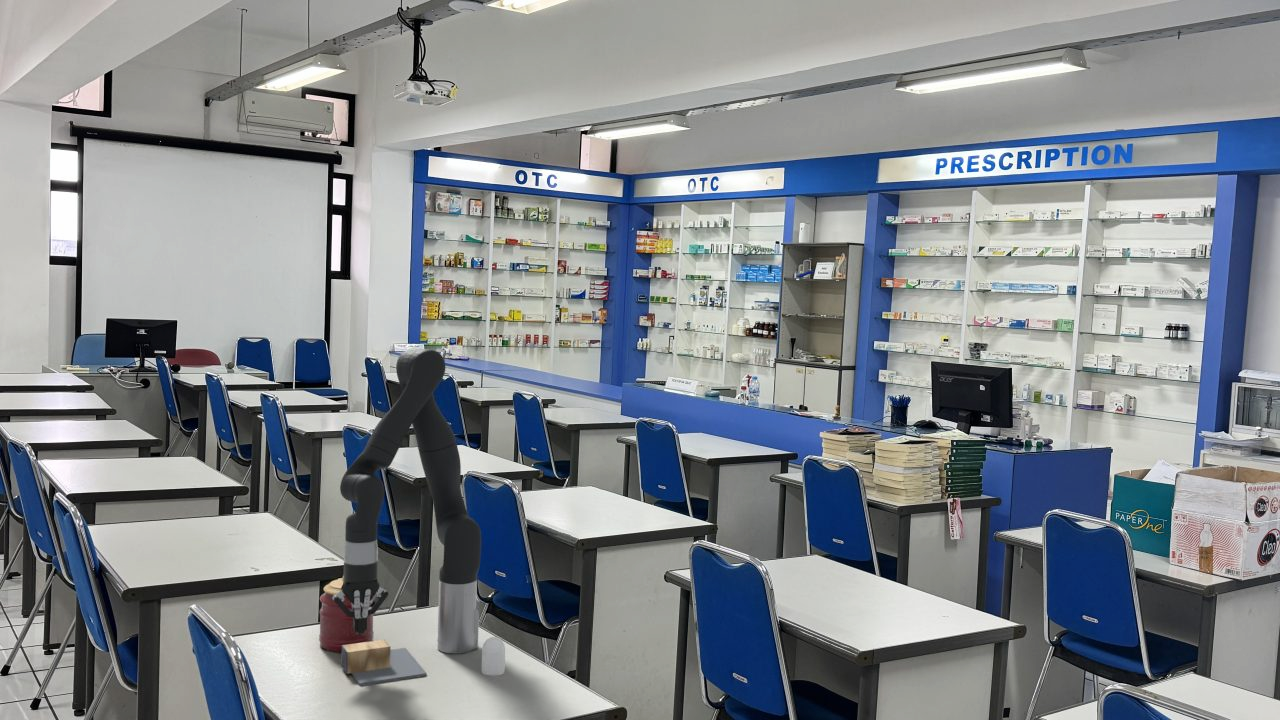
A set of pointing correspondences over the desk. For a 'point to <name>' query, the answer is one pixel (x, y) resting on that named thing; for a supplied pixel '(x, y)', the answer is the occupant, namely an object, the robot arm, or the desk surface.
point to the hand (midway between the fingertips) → (359, 632)
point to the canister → (339, 621)
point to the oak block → (365, 656)
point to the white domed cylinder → (493, 656)
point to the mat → (392, 669)
